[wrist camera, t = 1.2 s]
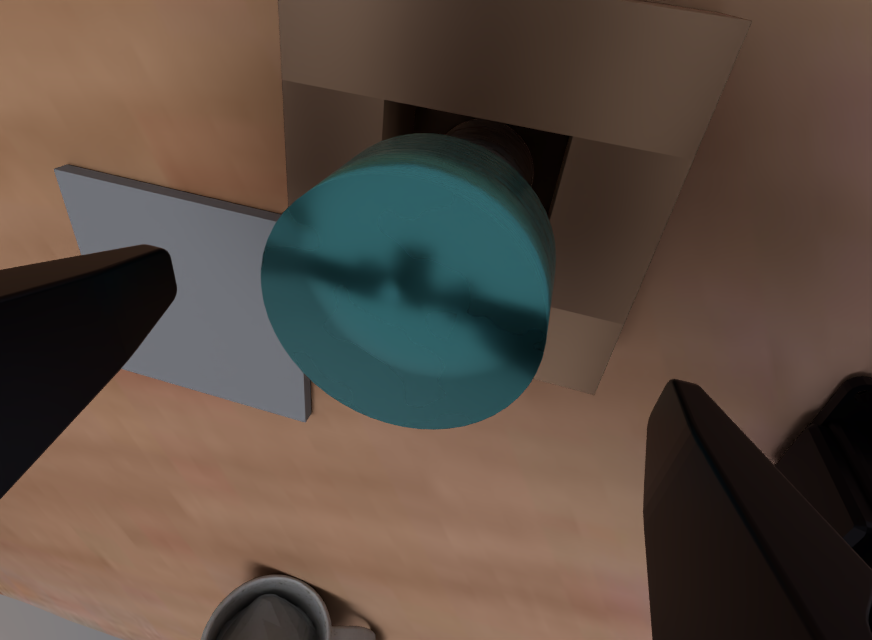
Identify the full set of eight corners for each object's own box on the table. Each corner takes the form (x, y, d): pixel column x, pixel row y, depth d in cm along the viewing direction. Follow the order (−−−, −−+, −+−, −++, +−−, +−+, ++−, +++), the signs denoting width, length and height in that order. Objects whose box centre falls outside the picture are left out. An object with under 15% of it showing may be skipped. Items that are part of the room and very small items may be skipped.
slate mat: (305, 220, 18) (297, 226, 18) (311, 413, 24) (305, 422, 24) (66, 164, 20) (53, 169, 19) (126, 360, 25) (117, 367, 25)
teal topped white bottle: (590, 100, 14) (588, 216, 7) (543, 264, 17) (510, 458, 10) (409, 66, 15) (247, 142, 8) (395, 230, 18) (270, 389, 11)
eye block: (720, 12, 12) (752, 21, 10) (594, 339, 18) (594, 394, 16) (332, -48, 13) (274, -54, 11) (331, 274, 19) (293, 316, 17)
